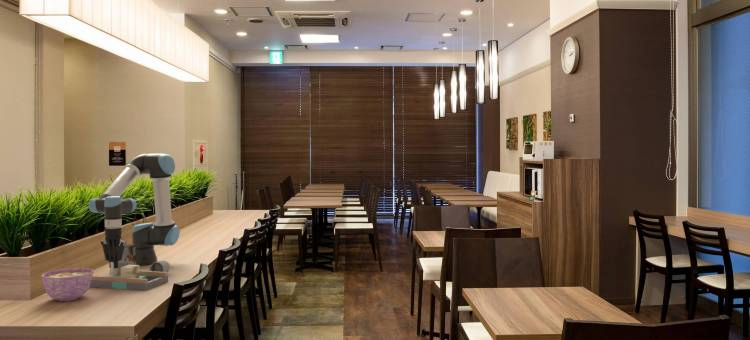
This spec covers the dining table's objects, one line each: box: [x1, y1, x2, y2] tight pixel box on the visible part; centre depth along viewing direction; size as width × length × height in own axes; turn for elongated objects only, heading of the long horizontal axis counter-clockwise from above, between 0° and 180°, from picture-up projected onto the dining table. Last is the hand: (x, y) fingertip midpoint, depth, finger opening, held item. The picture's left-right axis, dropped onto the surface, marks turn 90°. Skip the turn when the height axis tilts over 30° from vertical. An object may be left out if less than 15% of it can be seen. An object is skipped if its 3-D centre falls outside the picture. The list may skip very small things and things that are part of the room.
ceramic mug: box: [149, 260, 171, 273], centre depth 280 cm, size 11×8×8 cm
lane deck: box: [89, 268, 169, 291], centre depth 260 cm, size 18×32×5 cm, turn 77°
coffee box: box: [117, 243, 136, 269], centre depth 277 cm, size 9×6×16 cm
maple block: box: [121, 265, 141, 278], centre depth 259 cm, size 6×6×6 cm
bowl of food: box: [41, 267, 94, 302], centre depth 233 cm, size 20×20×12 cm
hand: (113, 274), depth 262 cm, fingers closed
